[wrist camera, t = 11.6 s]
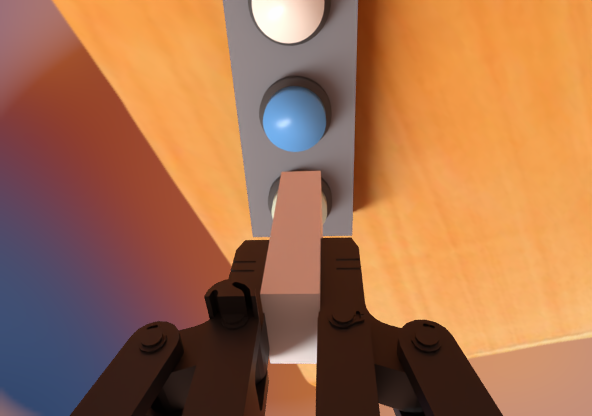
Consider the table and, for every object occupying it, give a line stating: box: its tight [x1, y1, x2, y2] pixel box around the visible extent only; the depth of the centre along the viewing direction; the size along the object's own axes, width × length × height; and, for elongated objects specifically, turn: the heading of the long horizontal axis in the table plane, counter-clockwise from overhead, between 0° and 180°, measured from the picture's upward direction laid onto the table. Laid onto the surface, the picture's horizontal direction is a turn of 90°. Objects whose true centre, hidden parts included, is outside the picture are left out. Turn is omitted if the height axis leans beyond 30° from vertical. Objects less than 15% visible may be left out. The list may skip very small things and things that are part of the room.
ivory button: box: [252, 0, 324, 43], centre depth 30 cm, size 5×5×2 cm
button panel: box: [223, 0, 358, 237], centre depth 37 cm, size 10×26×5 cm, turn 3°
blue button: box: [263, 86, 326, 152], centre depth 34 cm, size 5×5×2 cm
